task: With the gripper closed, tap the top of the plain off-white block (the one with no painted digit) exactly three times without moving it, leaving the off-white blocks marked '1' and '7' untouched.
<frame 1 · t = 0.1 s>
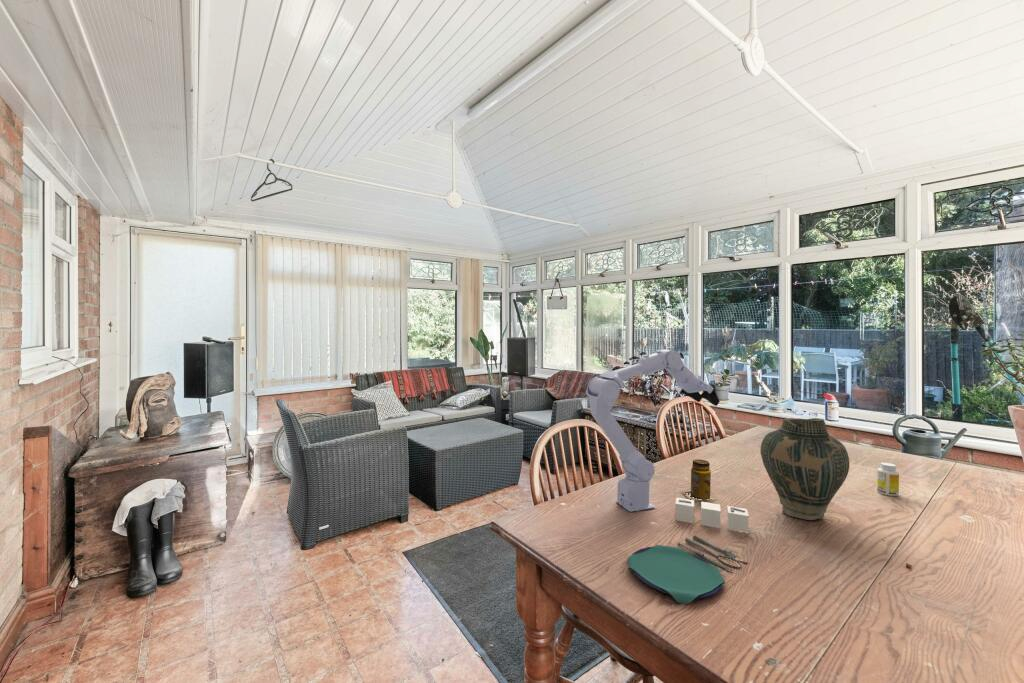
hand: (708, 401, 140), 32 cm above the table, tool tilted 50°, fingers open, 7 cm apart
digit seven block: (737, 528, 118), on the table
vase: (801, 515, 127), on the table
plain block: (710, 523, 121), on the table
condiment: (697, 497, 140), on the table
cutlery set: (687, 571, 97), on the table
supplement bottle: (887, 494, 143), on the table
digit one block: (684, 518, 124), on the table
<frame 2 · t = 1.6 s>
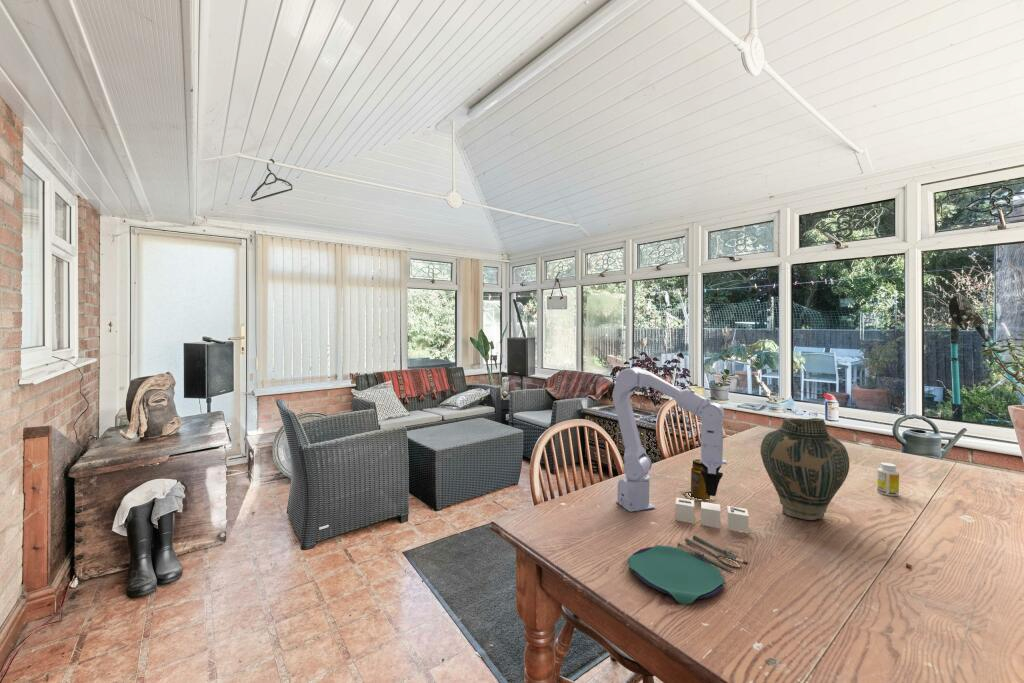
hand: (710, 490, 120), 9 cm above the table, tool pointing down, fingers open, 7 cm apart
nothing on the table moved.
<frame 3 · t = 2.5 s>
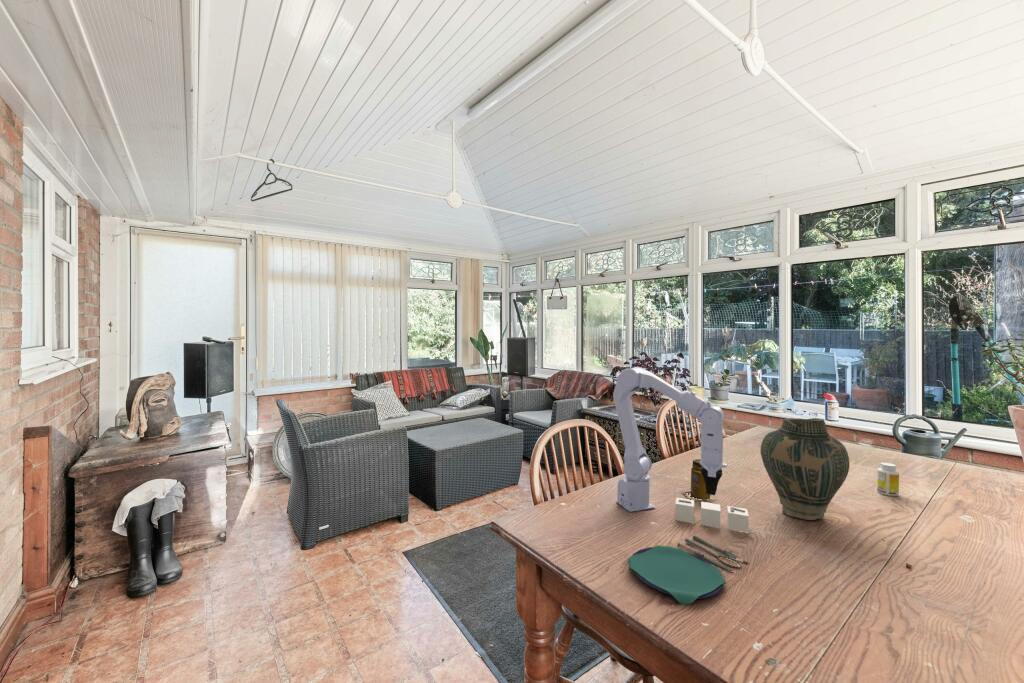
hand: (711, 493, 120), 9 cm above the table, tool pointing down, fingers closed
nothing on the table moved.
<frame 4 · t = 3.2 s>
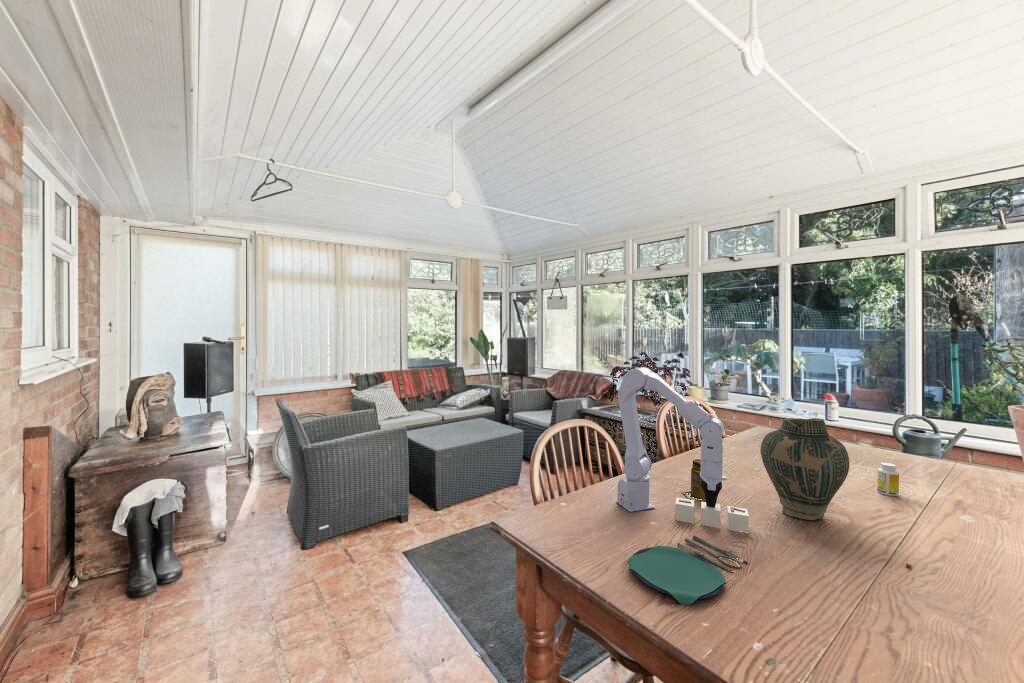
hand: (710, 506, 120), 5 cm above the table, tool pointing down, fingers closed, pressing on plain block
plain block: (710, 523, 121), on the table, touching gripper
everything else where it was.
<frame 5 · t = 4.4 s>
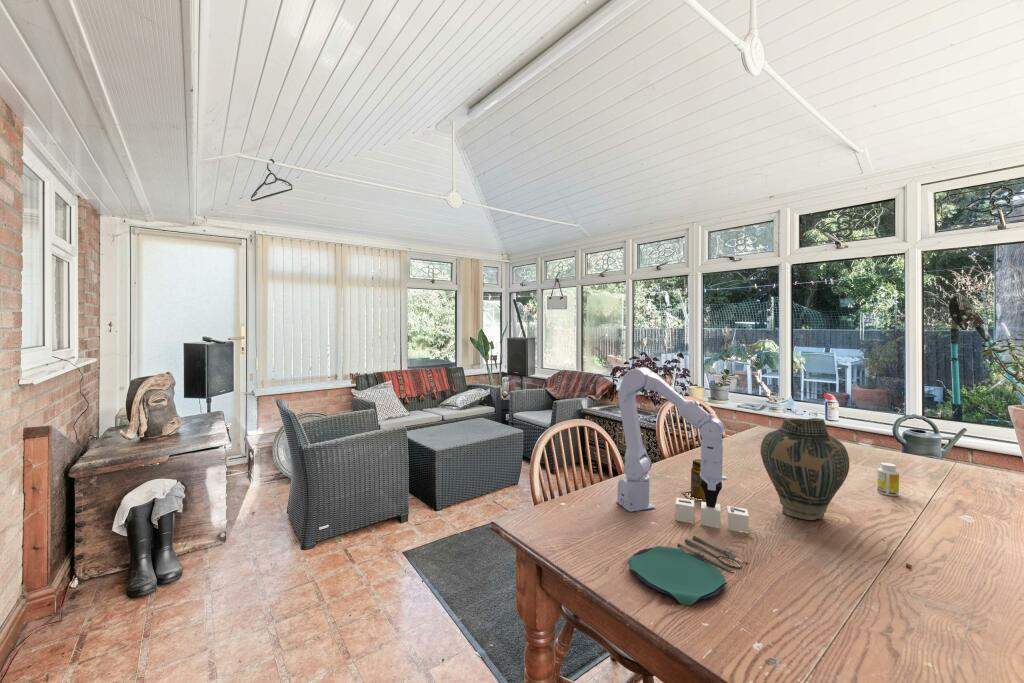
hand: (710, 506, 120), 5 cm above the table, tool pointing down, fingers closed, pressing on plain block
plain block: (710, 523, 121), on the table, touching gripper
everything else where it was.
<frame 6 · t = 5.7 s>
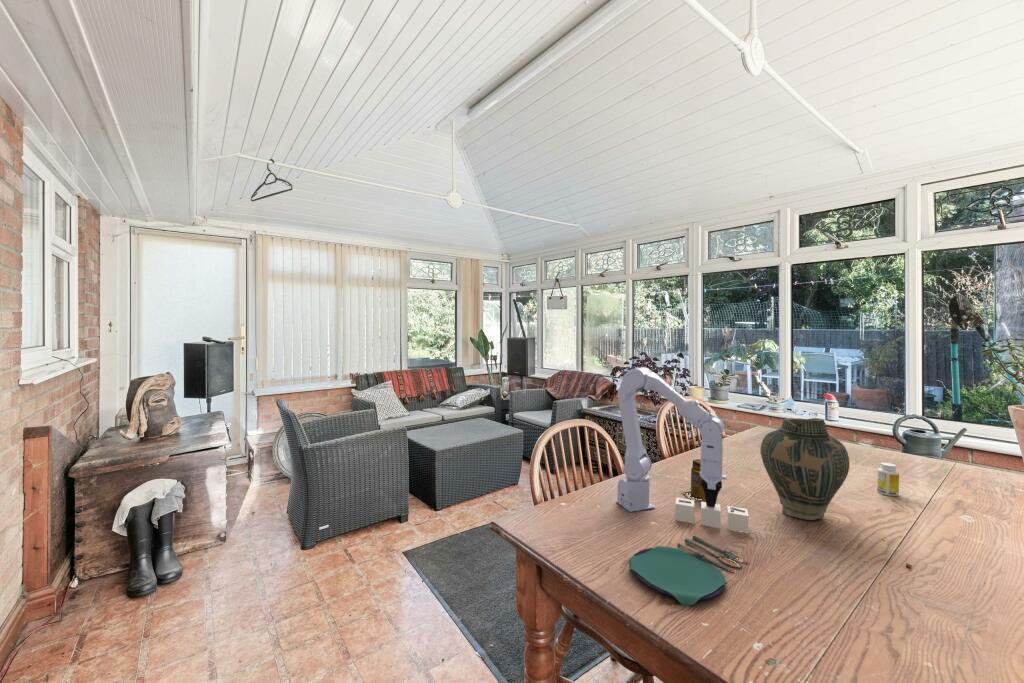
hand: (710, 505, 120), 5 cm above the table, tool pointing down, fingers closed
plain block: (710, 523, 121), on the table
everything else where it was.
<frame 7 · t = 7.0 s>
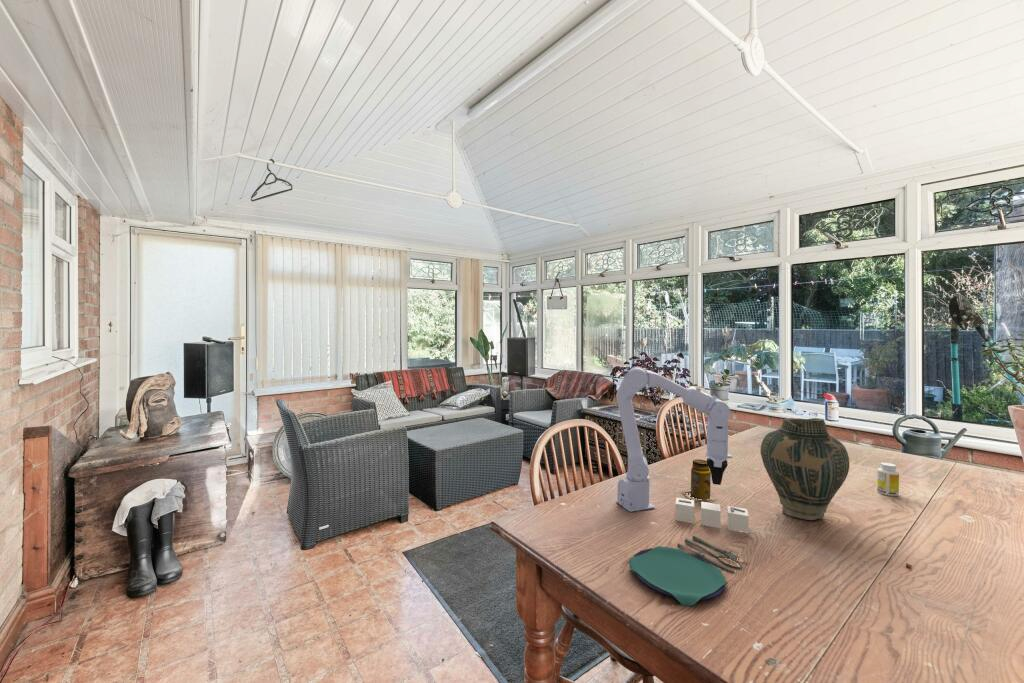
hand: (716, 483, 126), 9 cm above the table, tool pointing down, fingers closed
nothing on the table moved.
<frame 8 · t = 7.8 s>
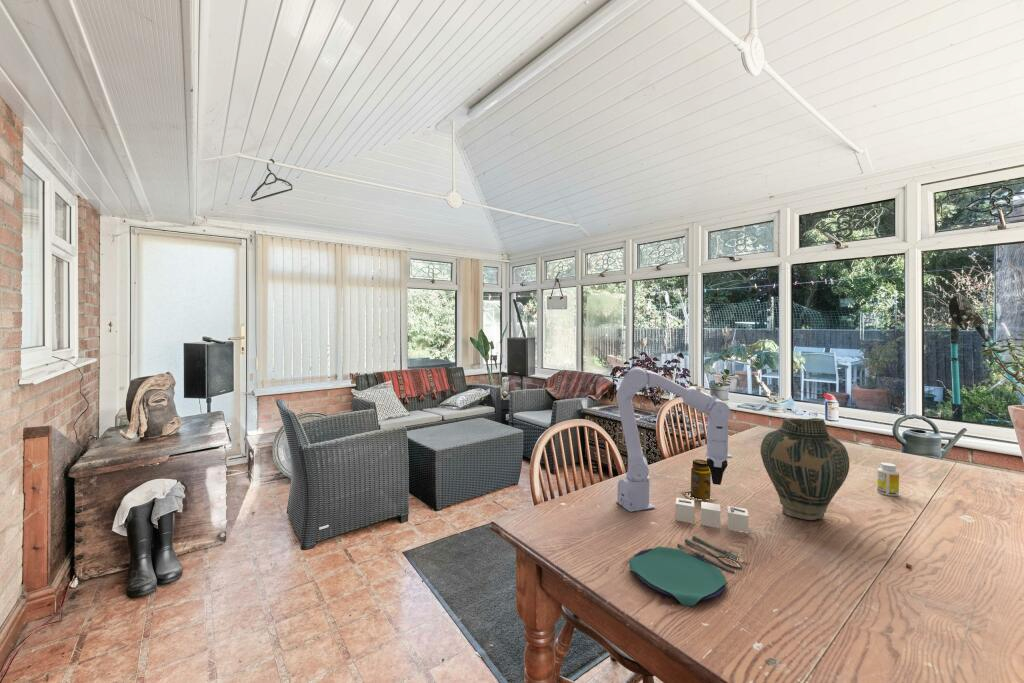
hand: (716, 483, 126), 9 cm above the table, tool pointing down, fingers closed
nothing on the table moved.
at the end: plain block moved 0.1 cm from its start; plain block tilted 0°; digit seven block moved 0.1 cm from its start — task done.
